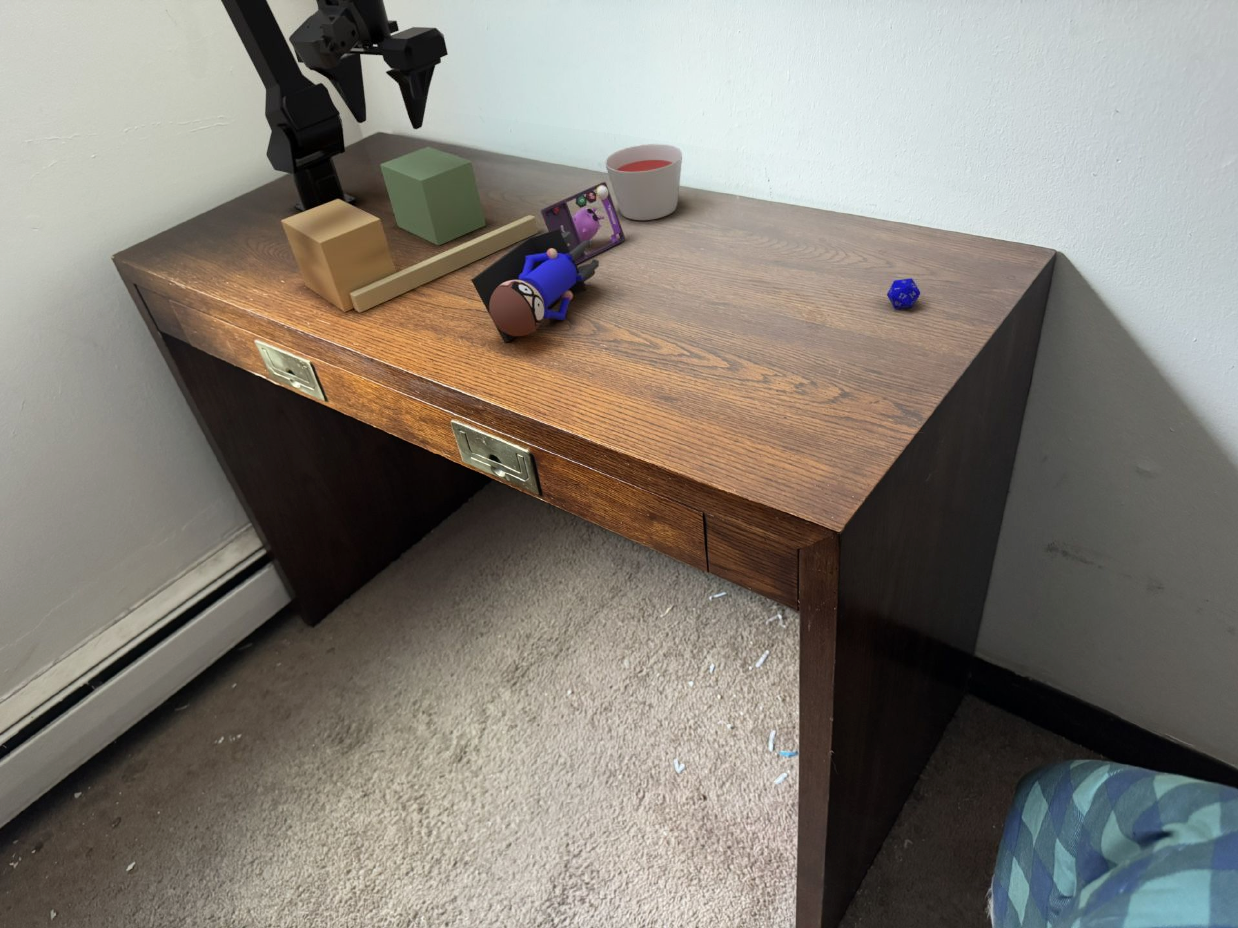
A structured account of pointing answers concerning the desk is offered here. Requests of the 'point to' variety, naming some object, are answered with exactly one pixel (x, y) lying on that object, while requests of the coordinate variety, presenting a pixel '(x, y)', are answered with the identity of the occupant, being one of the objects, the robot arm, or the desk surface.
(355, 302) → the straightedge
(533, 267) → the character figurine
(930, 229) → the desk surface
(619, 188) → the candle
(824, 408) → the desk surface
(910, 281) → the die
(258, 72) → the robot arm
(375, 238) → the maple block
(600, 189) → the game card
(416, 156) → the green block
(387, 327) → the desk surface
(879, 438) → the desk surface
